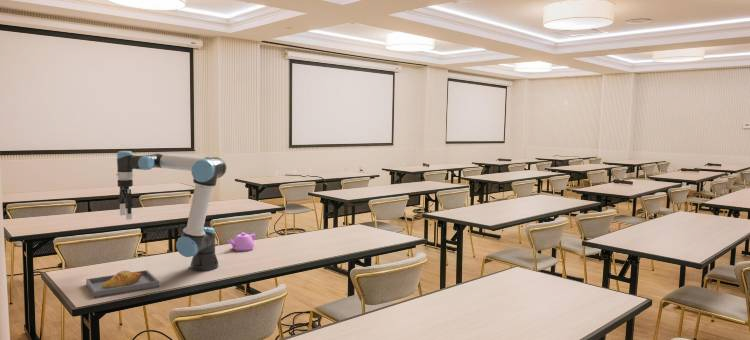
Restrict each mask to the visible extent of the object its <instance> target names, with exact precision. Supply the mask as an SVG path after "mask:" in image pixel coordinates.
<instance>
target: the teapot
mask: <svg viewBox="0 0 750 340" xmlns="http://www.w3.org/2000/svg"><path fill="white" fill-rule="evenodd" d="M255 239H256V233H251V234H247V233H246V232H241V233H240V234H237V235H236V236H235V238H233V239H232V238H228V240H227V241H228V242H229V244H231V246H232V247H231V248H232V249H234V251H237V252H246V251H247V252H248V251H251V250H253V249H254V248H255V243H254V242H255Z"/></svg>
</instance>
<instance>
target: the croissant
mask: <svg viewBox="0 0 750 340" xmlns="http://www.w3.org/2000/svg"><path fill="white" fill-rule="evenodd" d="M133 272H134V271H130V270H122V271H119V272H117V273H116V274H114V275H115V276H113V277H112V278H111V279H110V280H107V281H106V282H105V284H102V288H116V287H122V286H128V285H130V284H132V283H134V282H136V281H137V280H139V279H140V278H141V276H142V273H133Z"/></svg>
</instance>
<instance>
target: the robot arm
mask: <svg viewBox="0 0 750 340" xmlns="http://www.w3.org/2000/svg"><path fill="white" fill-rule="evenodd" d="M116 164H117V165H116V167H117V172H116V174H115V175H116V176H117V187H119V195H118V202H119V216H125V220H126V221H129V220H133V212H132V211H133V210H132V209H133V207H134V206H133V197H132V189H131V187H133V185H134V182H133V178H134V177H133V176H134V175H133V173H134V172H133V170H142V171H149V170H152V169H153V168H159V169H170V170H177V171H186V172H187V171H189V172H191V175H192V178H193V180H192V182H193V184H194V185H195V186H194V189H193V194H192V199H191V200H192V201H191V203H190V209H189V214H188V219H187V225H186V227H184V228H183V229H182V232H181V236H180V237H178V239H177V241H176V242H175V244H176V245H175V246H176V250H177V252H178V253H179V254H180V255H181V256H183V257H185V258H190V257H191V258H192V259H191V260H190V261H191V262H190V265H189V266H190V269H191V270H192V271H198V272H199V271H201V272H202V271H211V270H215V269H217V268H218V267H219V261H218V258H217V254H216V229H215V228H214V227H211V226H205V222H206V217H207V213H208V208H209V203H210V199H211V195H212V189H213V188H214V187H215V186H217V181H218V180H217V179H219V178H222V177H223V176H224V175H225V174H226V172H227V164H226V162H225V160H223V159H222V158H220V157H217V156H216V157H215V156H214V157H209V156H208V157H204V158H199V157H191V156H190V157H189V156H181V155H180V156H177V155H168V154H162V153H153V154H145V155H144V154H142V155H134V154H133V152H132V151H130V150H120V151H119V150H118V151H117V153H116Z"/></svg>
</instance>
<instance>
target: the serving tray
mask: <svg viewBox="0 0 750 340" xmlns="http://www.w3.org/2000/svg"><path fill="white" fill-rule="evenodd" d="M132 272H133V273H142V276H141V278H140V279H139V280H137V281H136V282H134V283H132V284H130V285H128V286H122V287H116V288H102V284H105V282H106V281H107V280H110V279H111V278H112V277H113V276H115V275H116V274H112V275H105V276H99V277H90V278H86V280H85V281H86V282H85V283H86V287H87V288H88V289H89V291H90V293H91V295H92V296H93V298H95V299H96V298H102V297H108V296H113V295H120V294H126V293H130V292H131V293H132V292H137V291H144V290H149V289H155V288H160V281H159V280H158V279H157V278H156V276H154V275H153V273H151V272H150V271H149V270H148V269H145V270H138V271H132Z"/></svg>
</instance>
